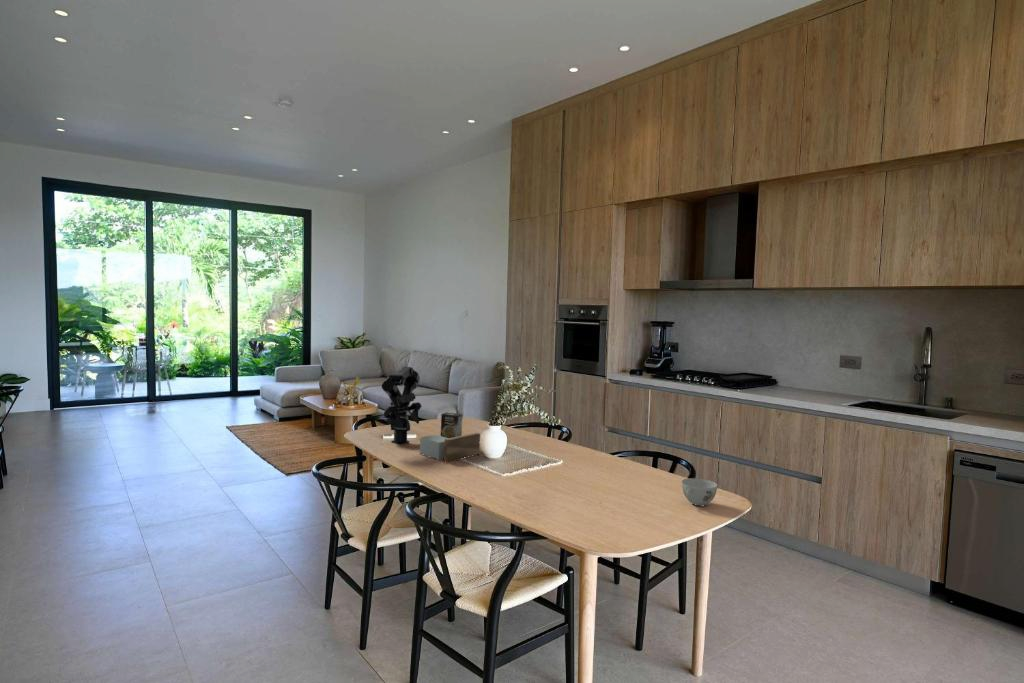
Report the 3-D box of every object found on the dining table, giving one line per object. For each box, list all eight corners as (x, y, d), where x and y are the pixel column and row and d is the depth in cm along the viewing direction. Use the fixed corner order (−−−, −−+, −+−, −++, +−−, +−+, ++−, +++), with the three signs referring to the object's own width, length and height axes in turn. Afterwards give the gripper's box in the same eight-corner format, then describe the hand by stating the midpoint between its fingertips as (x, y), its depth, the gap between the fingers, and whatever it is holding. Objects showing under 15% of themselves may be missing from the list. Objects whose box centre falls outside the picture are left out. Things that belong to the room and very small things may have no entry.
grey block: (419, 454, 260) (420, 437, 260) (434, 451, 267) (435, 434, 267) (438, 460, 252) (438, 442, 251) (453, 456, 259) (453, 439, 258)
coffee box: (439, 446, 276) (440, 414, 275) (444, 443, 282) (446, 411, 282) (456, 448, 274) (457, 415, 273) (461, 445, 280) (462, 413, 279)
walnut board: (443, 461, 250) (444, 439, 249) (475, 453, 265) (476, 432, 264) (447, 462, 248) (448, 440, 247) (479, 454, 263) (480, 433, 263)
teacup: (691, 496, 215) (692, 475, 214) (722, 505, 205) (724, 483, 205) (670, 504, 204) (671, 482, 204) (702, 514, 195) (703, 491, 195)
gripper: (388, 389, 256) (403, 417, 249) (419, 385, 270) (434, 412, 264) (377, 403, 261) (391, 431, 255) (408, 399, 276) (422, 425, 269)
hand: (410, 424), depth 261 cm, fingers open, 9 cm apart
